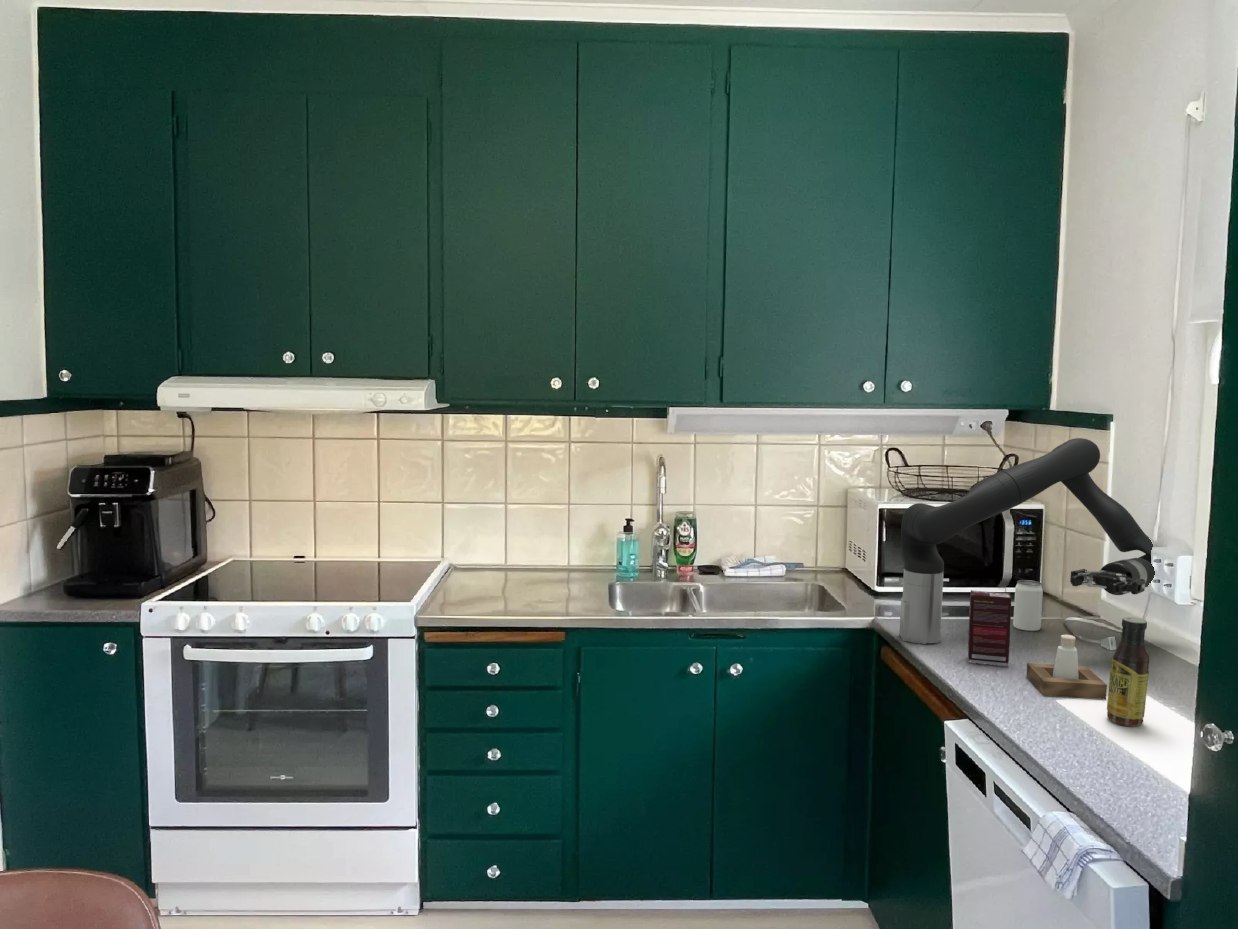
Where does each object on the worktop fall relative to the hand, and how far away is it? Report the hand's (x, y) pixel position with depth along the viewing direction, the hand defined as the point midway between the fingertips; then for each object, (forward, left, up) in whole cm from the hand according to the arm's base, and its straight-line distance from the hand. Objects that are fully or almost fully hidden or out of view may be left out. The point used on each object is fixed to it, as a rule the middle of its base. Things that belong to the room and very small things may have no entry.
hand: (1093, 585), depth 203 cm
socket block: (-9, -13, -19) cm, 25 cm away
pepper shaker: (-9, -13, -19) cm, 25 cm away
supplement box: (-21, +2, -19) cm, 28 cm away
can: (-4, +34, -19) cm, 39 cm away
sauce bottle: (-4, -32, -19) cm, 37 cm away
